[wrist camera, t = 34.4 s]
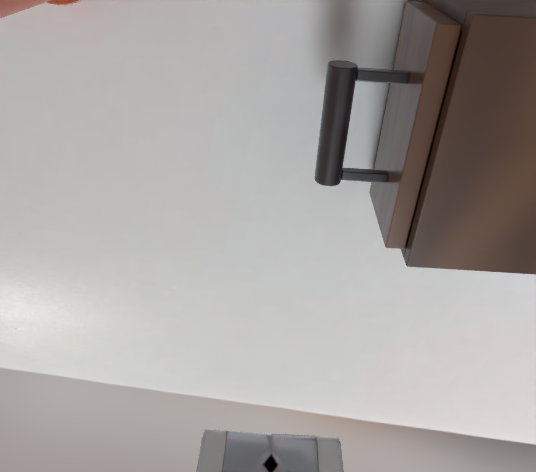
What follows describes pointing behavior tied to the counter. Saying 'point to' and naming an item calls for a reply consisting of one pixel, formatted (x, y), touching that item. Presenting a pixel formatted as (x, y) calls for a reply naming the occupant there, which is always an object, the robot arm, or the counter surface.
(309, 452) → the robot arm
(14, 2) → the pepper mill
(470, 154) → the cabinet
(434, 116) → the drawer
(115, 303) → the counter surface
